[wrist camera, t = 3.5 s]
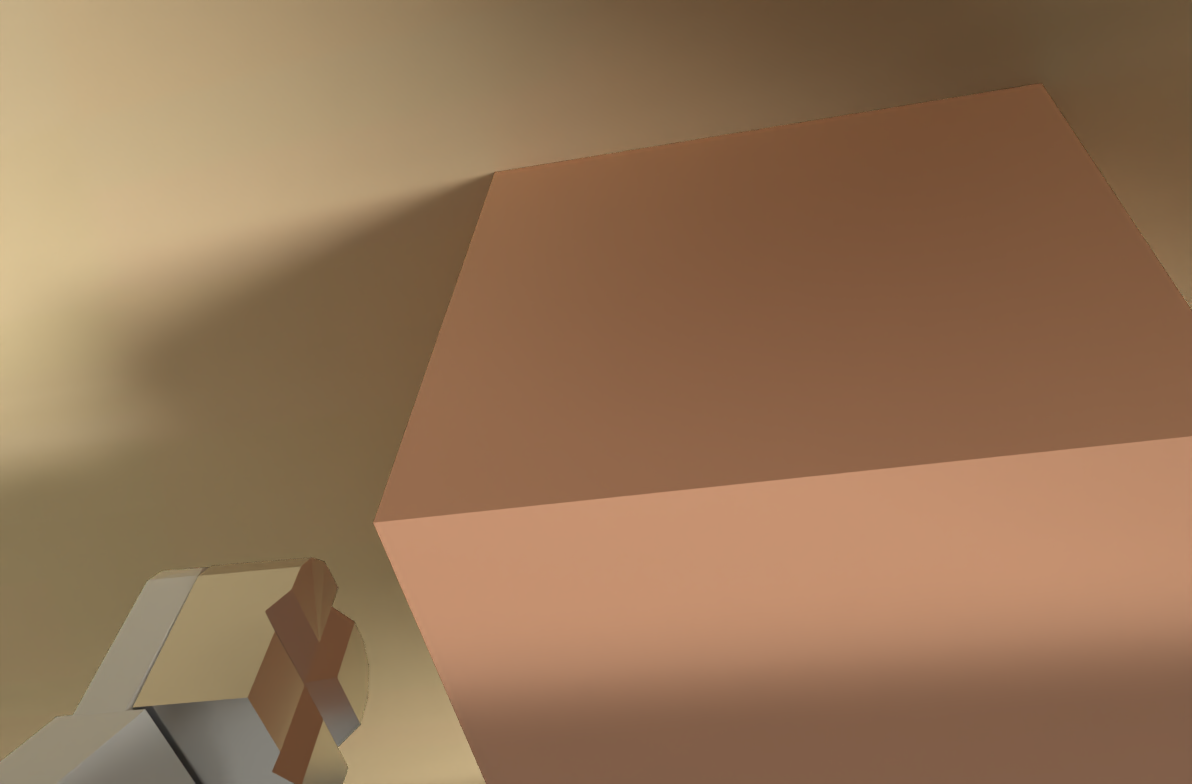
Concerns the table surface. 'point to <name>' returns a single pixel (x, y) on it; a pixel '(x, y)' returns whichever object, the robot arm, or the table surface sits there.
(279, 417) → the table surface
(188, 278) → the table surface
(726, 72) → the table surface
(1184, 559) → the terracotta block
